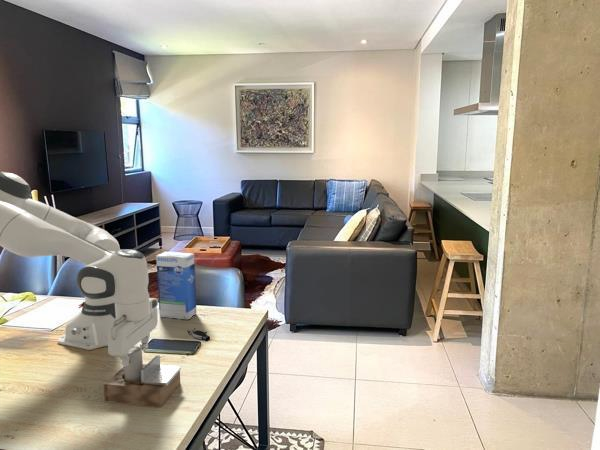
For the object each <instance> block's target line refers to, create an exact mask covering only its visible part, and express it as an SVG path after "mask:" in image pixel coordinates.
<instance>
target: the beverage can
mask: <svg viewBox="0 0 600 450" xmlns="http://www.w3.org/2000/svg"><path fill="white" fill-rule="evenodd" d="M127 355H128V357H129V358H131V363H130V364H129V365H128V366H123V367H124V374H125V380H128V381H133V380H139V379H141V370H142V369H143V364H144V363H143V350H141V348H140V346H134V347H133V348H131V349H130V350H129V354H127Z"/></svg>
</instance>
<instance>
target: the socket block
mask: <svg viewBox="0 0 600 450" xmlns="http://www.w3.org/2000/svg"><path fill="white" fill-rule="evenodd" d="M147 364H148V363H146V364H144V363H143V368H144V367H145V366H146V365H147ZM180 385H181V370H180V371H179V372H178V373H177V374H176V375H175V377H174V378H173V379H172V380H171V381H170V382H169V384H168V385H167V386H163V385H153V384H143V383H142V380H141V379H139V380H133V381H128V380H125V374H124V366H122V367H121V368H120V369H119V370H118V371H117V372H116V373H114V375H112V376H111V377H110V378H108V380H107V381H105V382H104V383H103V393H104V402H109V403H117V404H118V403H119V404H129V405H138V406H147V407H154V408H155V407H156V408H162V406H164V404H165V403H166V402H167V401H168V400H169V398H170V397H171V396H172V395H173V393H174V392H175V391H176V390H177V388H178V387H179V386H180Z"/></svg>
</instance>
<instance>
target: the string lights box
mask: <svg viewBox="0 0 600 450" xmlns="http://www.w3.org/2000/svg"><path fill="white" fill-rule="evenodd" d="M155 258H156V259H155V261H156V273H157V274H156V276H157V292H158V307H159V308H158V309H159V318H160V317H169V318H168V319H171V318H178V319H177V320H181V319H190V318H191V317H192V316H193V315H195V314H196V313H197V292H196V289H197V288H196V287H197V286H196V271H195V270H196V269H195V268H196V265H195V252H194V253H193V252H177V251H175V252H174V251H164V252H162V253H159V254H157V255H156V256H155ZM196 315H197V314H196ZM196 315H195V316H196ZM193 317H194V316H193ZM193 317H192V318H193ZM192 318H191V319H192ZM191 319H190V320H191Z"/></svg>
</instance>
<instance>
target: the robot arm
mask: <svg viewBox="0 0 600 450" xmlns="http://www.w3.org/2000/svg"><path fill="white" fill-rule="evenodd" d="M31 191H32V189H31V187H30V184H29V183H28V182H27V181H26V180H25V179H24V178H22V177H21V176H19V175H18V174H15V173H11V172H6V171H0V247H1V248H3V249H5V250H7V251H8V252H10V253H12V254H15V255H17V256H21V257H22V258H23V257H24V258H39V257H48V256H51V257H52V256H63V257H67V258H71V259H73V260H76V262H77V261H78V262H80V263H81V264H83V267H82V268H80V270H79V271H78V272H77V275H76V286H77V290H78V291H79V292H80V293H81V295H83V297H84V301H83V302H81V304H78V309H81V310H80V312H79V313H78V314H77V315H75V316H74V317H73V318H72V319H70V320H69V321H68V322H67V324H66V326H65V331H64V332H65V333H64V334H62V335H61V336H60V337H59V338H58V340H57V344H58V345H59V344H60V345H63V346H68V347H69V346H70V347H74V348H78V349H82V350H88V351H90V350H96V349H98V348H99V349H100V348H103V347H107V353H108V355H109V356H111V357H118V358H120V360H121V365H122V367H124V366H128V365H129V364H130V363H131V358H129V357H128V355H127V354H129V350H130V349H131V348H133V347H136V345H137V344H138V343H139V347H140V348H141V350H142V351H146V350H147V349H148V348H149V341H150V336H151V332H152V331H154V330H155V329H156V328H157V326H158V322H159V321H158V318H159V316H158V307H157V306H159V298H155V297H150V294H149V290H148V286H149V270H148V265H147V260H146V256H145V255H144V254H143V252H141V251H139V250H136V249H132V248H130V249H129V248H128V249H121V248H120V244H119V241H118V240H117V239H116V238H115V237H114V236H113V235H112V234H110V233H109V232H108V231H107V230H105V229H103V228H101V227H99V226H97V225H94V224H92V223H89V222H87V221H84V220H82V219H79V218H77V217H75V216H72V215H70V214H68V213H66V212H64V211H61V210H60V209H57V208H55V207H53V206H50V205H48V204H46V203H44V202H41V201H39V200H36V199H33V195H32V194H31Z"/></svg>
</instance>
